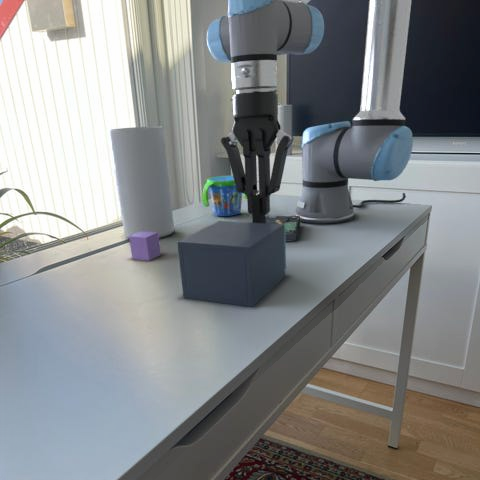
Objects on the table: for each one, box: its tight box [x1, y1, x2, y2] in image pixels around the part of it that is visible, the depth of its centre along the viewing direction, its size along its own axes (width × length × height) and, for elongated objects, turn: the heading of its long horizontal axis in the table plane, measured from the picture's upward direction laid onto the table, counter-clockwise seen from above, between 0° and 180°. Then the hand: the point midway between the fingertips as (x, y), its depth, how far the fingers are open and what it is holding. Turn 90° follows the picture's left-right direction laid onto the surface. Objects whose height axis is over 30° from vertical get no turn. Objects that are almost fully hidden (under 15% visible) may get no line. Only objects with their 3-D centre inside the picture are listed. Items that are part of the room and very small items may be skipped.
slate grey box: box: [176, 220, 286, 308], centre depth 81 cm, size 15×13×10 cm
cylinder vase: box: [107, 125, 175, 239], centre depth 116 cm, size 12×12×25 cm
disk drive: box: [266, 215, 301, 242], centre depth 114 cm, size 10×3×15 cm
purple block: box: [128, 231, 162, 262], centre depth 102 cm, size 4×4×5 cm
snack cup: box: [201, 175, 247, 217], centre depth 136 cm, size 16×10×10 cm
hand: (259, 231), depth 89 cm, fingers closed
